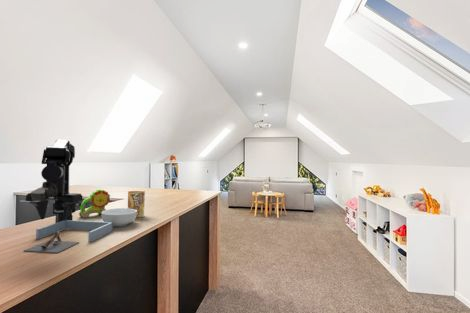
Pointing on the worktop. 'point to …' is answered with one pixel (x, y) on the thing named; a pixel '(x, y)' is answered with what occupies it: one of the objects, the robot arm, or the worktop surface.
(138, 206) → the candy box
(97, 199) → the toy lion
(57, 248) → the mat
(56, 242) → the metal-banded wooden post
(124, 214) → the cereal bowl
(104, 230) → the open box
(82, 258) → the worktop surface
